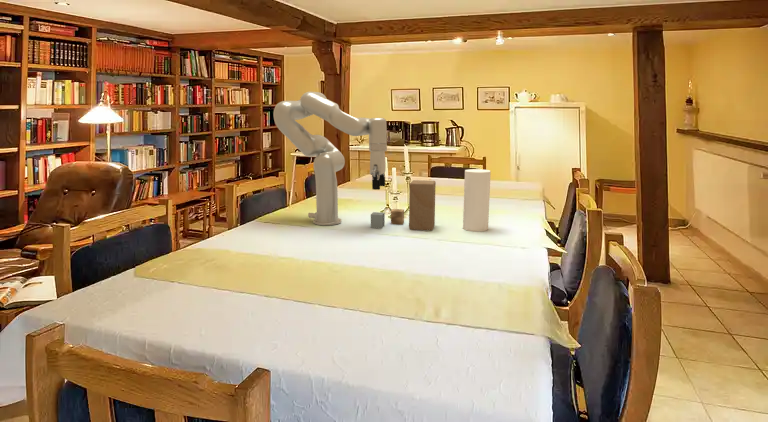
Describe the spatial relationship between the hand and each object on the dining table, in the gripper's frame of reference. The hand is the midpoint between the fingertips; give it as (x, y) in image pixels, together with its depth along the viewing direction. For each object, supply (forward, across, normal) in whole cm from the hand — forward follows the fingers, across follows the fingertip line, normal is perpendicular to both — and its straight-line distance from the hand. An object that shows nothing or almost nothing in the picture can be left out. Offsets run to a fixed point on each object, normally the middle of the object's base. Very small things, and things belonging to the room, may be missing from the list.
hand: (378, 187), depth 220 cm
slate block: (+17, 0, -1) cm, 17 cm away
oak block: (+18, -9, +6) cm, 21 cm away
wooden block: (+18, -3, +18) cm, 26 cm away
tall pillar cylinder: (+18, -7, +41) cm, 45 cm away
